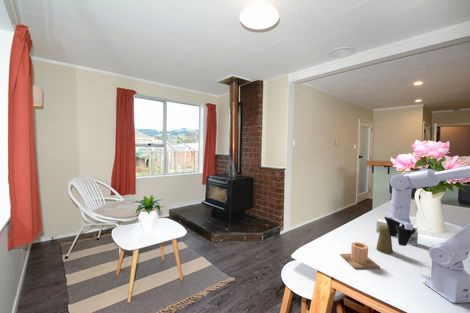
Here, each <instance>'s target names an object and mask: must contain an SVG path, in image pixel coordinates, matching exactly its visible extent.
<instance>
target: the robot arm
mask: <svg viewBox="0 0 470 313" xmlns="http://www.w3.org/2000/svg"><path fill="white" fill-rule="evenodd" d="M463 179H470V165H467V166H461V167H456V168H451V169H445V170H440V171H436V170H434V169H431V168H427V167H423V168H419V170H416V171H410V170H408V171H405V173H397V174H394V175H392V176H391V177H390V178H389V184H390V186H391V187H392V189H391V190H392V191H391V198H390V199H391V200H390V201H391V203H390V210H387V214H386V216H384V220H386V222H387V225H388V230H389V235H390V236H391V237H397V241H398V242H397V243H398V246H401V247H402V246H403V247H407V245H408V244H407V243H408V241H409V239H410V237H411V236H412V234H413V233H415V231H416V230H415V229H414V228H413V225H414V224H413V223H412V221H411V219H410V213H411V203H412V202H411V201H412V193H413V191H412V190H413V189H419V188H421V189H422V188H428V187H436V186H438V184H439V183H440V182H442V181H443V182H444V181H451V180H463ZM469 253H470V222H469V223H468V224H466V225H465V226H464V227H462V229H460V230H459V231H457V233H455V234H454V235H453V236H451V237H449V238H448V239H446V240H445V241H443V242H441V243H438V244H433V245H431V246H430V247H429V249H428V255H429V257H430V258H431V270H430V280H424V281H422V283H423V284H424V285H425V286H427V287H428V288H430V289H432V290H433V291H434V292H436V294H438V295H440V296H441V297H443V298H444V299H445V300H447V301H448V302H451V303H452V304H460V303H461V304H462V303H465V304H466V303H470V274H469V272H467V271H466V270H465V266H464V262H463V261H465V260H466V259H467V258H468V256H469Z"/></svg>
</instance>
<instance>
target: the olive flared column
mask: <svg viewBox="0 0 470 313" xmlns="http://www.w3.org/2000/svg"><path fill="white" fill-rule="evenodd" d="M378 230H379V232H380V233H378V239H377V242H376V243H377V244H376V248H375V249H376V250H377V251H378V252H380V253H382V254H387V255H391V254H393V253H394V252H393V251H394V250H393V243H392V242H393V241H392V236H390V235H389V230H388V226H386V225H380V226H379V228H378Z"/></svg>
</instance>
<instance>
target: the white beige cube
mask: <svg viewBox="0 0 470 313" xmlns="http://www.w3.org/2000/svg"><path fill="white" fill-rule="evenodd" d="M380 225H386V226H388V225H387V222H386V220H385V218H384V219H383V218H378V219H377V221H376V228H375V229H376V231H375V232H376V233H378V234H379V233H380V232H379V230H378V228H379V226H380Z"/></svg>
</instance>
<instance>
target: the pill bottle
mask: <svg viewBox="0 0 470 313" xmlns="http://www.w3.org/2000/svg"><path fill="white" fill-rule="evenodd" d="M413 228H414V229H415V230H416V231H415V233H413V234H412V236H411V237H410V239H409V241H408V243H407V245H411V246H418V239H419V238H418V236H419V232H418V226H416V225H414V224H413Z"/></svg>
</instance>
